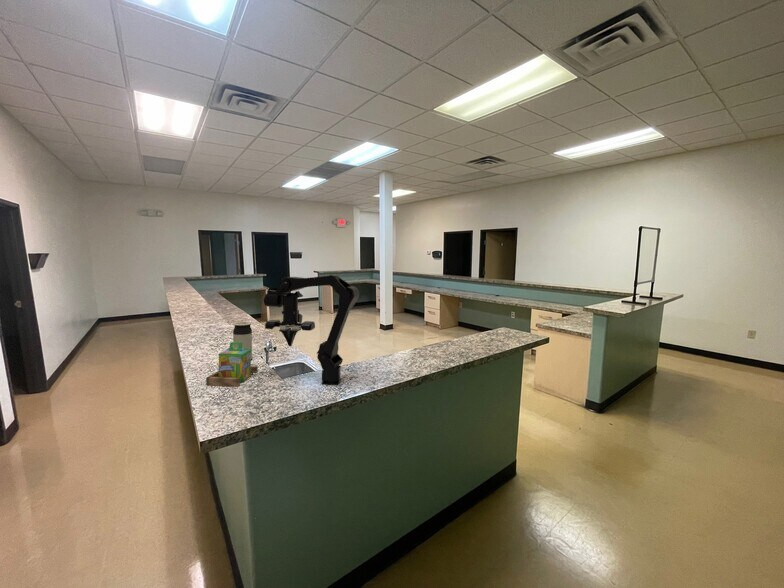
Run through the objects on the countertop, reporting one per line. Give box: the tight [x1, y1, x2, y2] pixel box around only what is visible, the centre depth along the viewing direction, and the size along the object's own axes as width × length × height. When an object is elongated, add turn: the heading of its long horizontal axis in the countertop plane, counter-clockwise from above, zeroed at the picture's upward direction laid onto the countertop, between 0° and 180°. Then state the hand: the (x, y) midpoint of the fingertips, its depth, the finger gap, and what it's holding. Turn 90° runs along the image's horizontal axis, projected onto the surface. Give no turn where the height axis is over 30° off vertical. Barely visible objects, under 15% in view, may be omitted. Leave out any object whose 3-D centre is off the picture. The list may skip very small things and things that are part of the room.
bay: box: [205, 365, 259, 388], centre depth 125 cm, size 12×15×3 cm
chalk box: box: [218, 341, 252, 384], centre depth 125 cm, size 9×9×15 cm
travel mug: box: [232, 321, 253, 360], centre depth 149 cm, size 8×8×18 cm
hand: (290, 346), depth 128 cm, fingers closed
